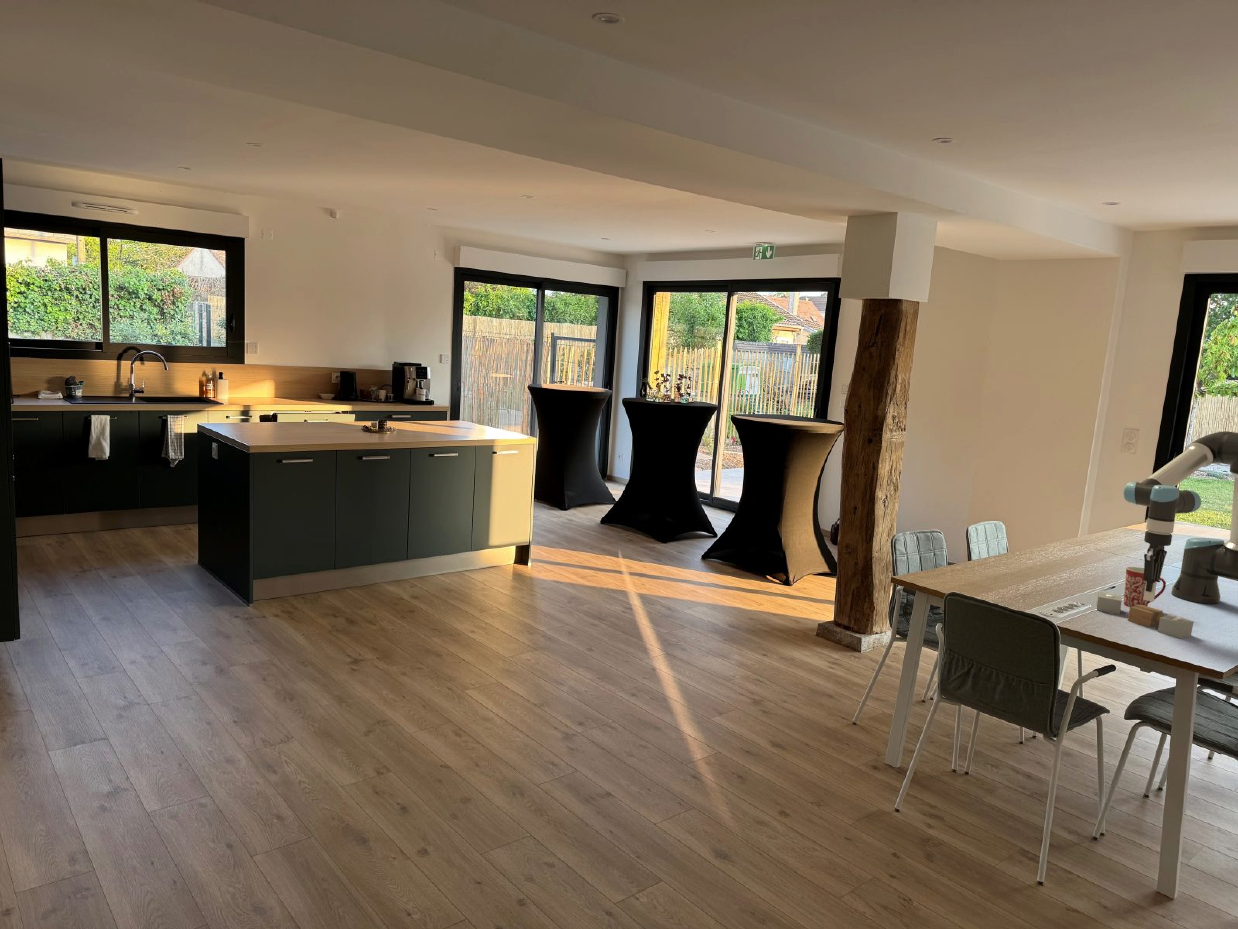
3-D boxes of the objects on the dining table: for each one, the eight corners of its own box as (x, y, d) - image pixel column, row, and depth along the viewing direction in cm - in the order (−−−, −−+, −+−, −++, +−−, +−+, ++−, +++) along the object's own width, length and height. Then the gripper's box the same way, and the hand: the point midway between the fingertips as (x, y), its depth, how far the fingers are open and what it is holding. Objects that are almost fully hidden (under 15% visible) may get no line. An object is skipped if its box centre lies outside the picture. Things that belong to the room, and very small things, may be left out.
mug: (1119, 606, 296) (1125, 569, 294) (1121, 600, 303) (1126, 564, 301) (1161, 614, 289) (1167, 577, 287) (1161, 608, 296) (1167, 572, 294)
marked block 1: (1096, 605, 296) (1098, 591, 295) (1119, 609, 292) (1121, 595, 291) (1096, 610, 290) (1098, 596, 289) (1119, 614, 286) (1121, 600, 285)
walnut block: (1138, 618, 283) (1141, 604, 282) (1160, 625, 277) (1162, 611, 276) (1127, 621, 279) (1130, 606, 279) (1149, 627, 274) (1151, 613, 273)
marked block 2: (1167, 629, 274) (1169, 613, 273) (1191, 635, 268) (1193, 620, 267) (1157, 632, 270) (1160, 617, 269) (1181, 639, 264) (1184, 623, 263)
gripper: (1154, 527, 280) (1143, 594, 284) (1138, 531, 273) (1128, 600, 276) (1179, 532, 275) (1168, 600, 278) (1164, 536, 267) (1153, 606, 270)
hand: (1148, 600), depth 277 cm, fingers closed
